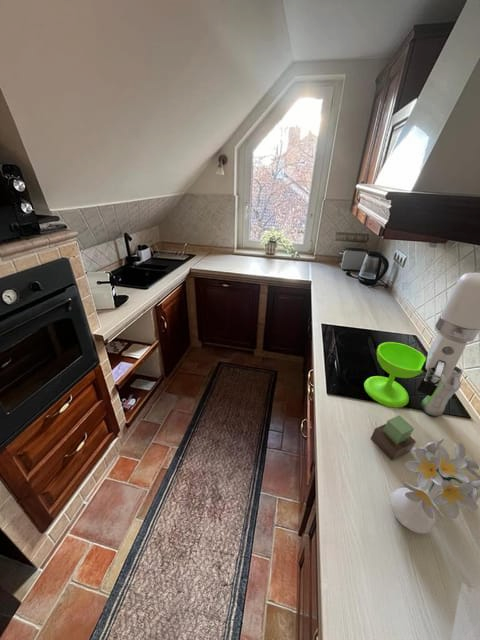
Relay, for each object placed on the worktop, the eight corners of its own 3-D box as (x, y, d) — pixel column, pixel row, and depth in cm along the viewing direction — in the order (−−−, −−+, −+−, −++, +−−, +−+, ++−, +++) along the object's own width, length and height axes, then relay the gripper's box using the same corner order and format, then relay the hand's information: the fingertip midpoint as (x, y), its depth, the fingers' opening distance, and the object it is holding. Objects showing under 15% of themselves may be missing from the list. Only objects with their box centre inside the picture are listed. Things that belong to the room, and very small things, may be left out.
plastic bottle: (419, 400, 96) (442, 359, 85) (441, 409, 92) (468, 368, 82) (418, 412, 91) (442, 370, 81) (440, 421, 88) (469, 379, 78)
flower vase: (366, 527, 61) (403, 470, 48) (393, 473, 72) (428, 415, 60) (428, 581, 53) (491, 531, 40) (447, 511, 64) (502, 454, 52)
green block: (393, 425, 80) (399, 415, 78) (408, 439, 76) (414, 428, 74) (382, 430, 79) (387, 420, 76) (396, 444, 75) (402, 434, 72)
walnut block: (388, 430, 85) (393, 420, 82) (410, 451, 78) (416, 441, 76) (370, 438, 82) (375, 428, 79) (391, 461, 75) (397, 451, 73)
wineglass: (385, 373, 108) (400, 339, 99) (419, 401, 95) (439, 365, 86) (355, 381, 104) (367, 346, 95) (385, 412, 91) (403, 374, 82)
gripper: (479, 352, 50) (441, 410, 59) (475, 318, 62) (444, 370, 71) (434, 338, 54) (404, 394, 63) (439, 308, 66) (413, 359, 75)
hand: (425, 381), depth 67 cm, fingers open, 9 cm apart
